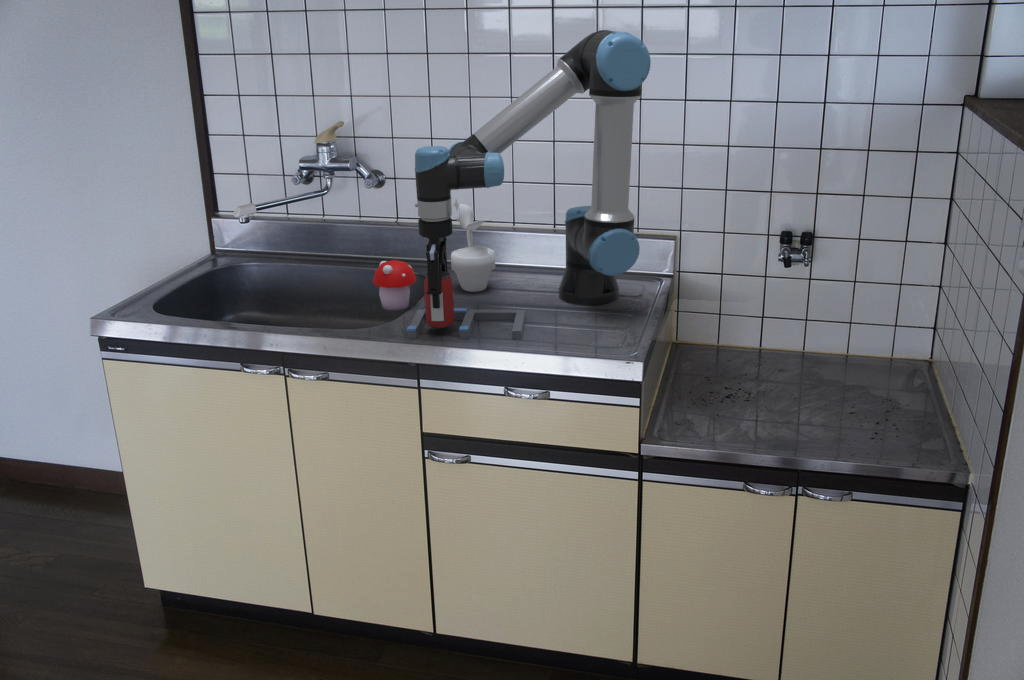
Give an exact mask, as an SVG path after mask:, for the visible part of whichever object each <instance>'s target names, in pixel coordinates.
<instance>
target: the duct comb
mask: <svg viewBox="0 0 1024 680" xmlns="http://www.w3.org/2000/svg"><path fill="white" fill-rule="evenodd" d="M454 321H462V323H461V324H460V326H459V328H458V330H459V333H458V334H459V340H469V339H470V336H471V333H472V330H473V327H474V324H475V321H513V325H512V329H511V338H512V340H522V337H523V331H524V327H525V322H526V309H468V308H467V307H465V308H461V307H459V308H458V307H457V308H456V307H454ZM425 322H426V310H425V309H417V310H416V312H415V314H414V316H413V318H412V320H411V322H410V324H409V325H408V326H407V327H406V337H407V339H408V340H413V339H414V340H416V339H417V337H418V336H419V334H420V332H421V330H422V328H423V326H424V324H425Z"/></svg>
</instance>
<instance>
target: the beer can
mask: <svg viewBox="0 0 1024 680" xmlns="http://www.w3.org/2000/svg"><path fill="white" fill-rule="evenodd" d="M453 285H454V283H453V279H452V277H451V274H450V272H449V271H448V272H445V271H441V291H442V293H443V312H444V321H432V318H431V301H430V294H427V293H426V292H428V272H427V273H426V274H425V279H424V282H423V291H424V292H423V293H424V306H425V307H424V308H425V309H424V310H426V320H425V322H426V323H425V324H427V326H429V327H431V328H434V329H435V328H436V329H443V328H448V327H450V326H451V327H452V325H454V323H455V320H454V308H455V305H454V302H455V301H454V300H455V299H454V287H453Z"/></svg>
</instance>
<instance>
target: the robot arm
mask: <svg viewBox="0 0 1024 680" xmlns="http://www.w3.org/2000/svg"><path fill="white" fill-rule="evenodd" d="M651 63H652V62H651V54H650V52H649V49H648V48H647V46H646V44H645V43H644V42H643V41H642V40H641V39H640V38H638V37H637V36H635V35H633V34H632V33H629V32H623V31H613V30H608V29H602V30H597V31H594V32H592V33H590V34H588V35H587V36H585V37H584V38H582V40H580V41H578V43H576V44H575V45H574V46H573V47H572V48H570V49H569V50H568V51H567V52H566V53H564V54H563V55H562V56H561V57H559V58H558V59H557V61H556V67H554V68H553V69H551V71H549V72H548V73H547V74H546V75H545V76H543V77H542V78H541V79H539V80H538V81H537V82H536V83H534V84H533V85H532V86H531V87H530V88H529V89H526V91H525V92H523V93H522V94H521V95H520V96H518V97H517V98H516V99H515V100H514V101H512V102H511V103H510V104H508V105H507V106H506V107H505V108H503V109H502V110H501V111H500V112H499V113H497V114H496V115H495V116H493V117H492V118H491V119H490V120H489V121H488V122H486V123H485V124H483V125H482V126H481V127H479V128H478V130H476V131H475V132H474V133H472V134H471V135H470V136H468V137H467V138H465V139H464V141H458V142H455V143H453V144H452V145H451V146H450V147H449V148H447V146H442V145H427V146H422V147H419V148H417V149H416V151H415V153H414V174H415V176H414V177H415V188H416V189H415V190H416V199H417V201H416V202H415V203H414V207H415V208H417V216H418V217H419V218H418V220H417V221H418V223H417V224H418V234H419V236H420V237H422V238H426V239H428V242H427V244H426V253H425V255H426V264H427V273H428V292H426V293H427V294H430V301H431V318H432V321H444V312H443V293H442V291H441V271H445V272H448V273H449V271H448V255H447V237H449V236H451V235H452V234H453V219H452V218H451V217H452V216H453V209H452V207H453V204H452V195H451V194H452V193H451V191H452V190H453V191H454V190H456V191H457V190H468V189H482V188H485V189H490V188H493V187H499V186H501V185H503V182H504V180H505V164H504V160H503V157H502V155H501V154H502V153H503V152H504V151H505V150H507V149H508V148H509V147H510V146H512V145H514V143H516V142H517V141H518V140H519V139H520V138H522V137H523V136H524V135H526V134H527V133H528V132H529V131H531V130H532V129H533V128H534V127H536V126H537V125H538V124H539V123H541V122H542V121H543V120H544V119H546V118H547V117H548V116H550V115H551V114H552V113H553V112H554V111H556V110H557V109H558V108H560V107H561V106H562V105H564V104H565V103H566V102H567V101H569V100H570V99H571V98H572V97H573V96H575V95H576V94H581V95H582V94H584V93H585V92H586V91H588V90H589V91H588V94H589V97H590V98H591V99H592V100H593V101H594V103H595V106H594V107H595V109H594V110H595V111H594V132H593V133H594V135H593V159H592V160H593V161H592V184H591V185H592V186H591V205H584V206H583V205H581V206H575V207H570V208H568V209H567V210H566V213H565V220H564V224H565V268H564V271H563V275H562V278H561V281H560V284H559V287H558V288H559V289H558V297H559V299H561V300H562V301H564V302H566V303H570V304H574V305H581V306H596V305H605V304H609V303H612V302H614V301H616V300H617V299H619V297H620V292H619V291H620V288H619V284H618V283H619V282H618V280H617V277H616V276H620V275H622V274H624V273H626V272H628V271H629V270H630V269H631V268H632V267H633V266H634V265H635V264H636V263H637V260H638V259H639V255H640V251H641V250H640V242H639V240H638V238H637V236H636V235H635V234H634V233H635V230H634V229H635V215H634V214H633V213H632V212H631V210H630V208H629V203H630V202H629V201H630V186H631V183H630V182H631V165H632V164H631V163H632V162H631V161H632V146H633V144H632V143H633V129H634V128H633V126H634V111H635V107H634V106H635V103H637V102H638V100H639V99H641V97H642V89H643V83H644V82H645V81H646V80H647V78H648V76H649V73H650V71H651ZM450 216H451V217H450Z"/></svg>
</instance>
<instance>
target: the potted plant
mask: <svg viewBox="0 0 1024 680" xmlns="http://www.w3.org/2000/svg"><path fill="white" fill-rule="evenodd" d="M452 206H454V208H455V209H456V211H458V210H459V212H458V213H459V214H458V216H456V218H455V220H456V222H458V223H459V225H460V226H461V227H462V229H464V230H466V241H467V245H468V246H464V248H463V247H462V248H458V249H455V250H452V251H451V254H450V264H451V267H450V268H451V270H452V271H454V272H455V275H456V276H457V280H458V282H459V285H460V288H461V289H462V290H464V291H466V292H470V293H473V292H474V293H477V292H483V291H484V290H485V289H487V287H488V283H489V280H490V276H491V273H492V271H494V270H495V268H496V256H495V255H496V251H495V250H493V249H491V248H488V247H486V246H482V245H477V244H475V245H474V238H473V237H474V236H473V231H475V230H477V229H479V227H480V226H482V224H484V222H488V221H489V222H490V221H492V218H487V219H480V220H478V219H477V220H475V221H474V218H475V212H474V209H473V207H471V206H470V205H468V204H464V203H458V199H455V202H454V203H452ZM450 217H452V215H451V216H450Z"/></svg>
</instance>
